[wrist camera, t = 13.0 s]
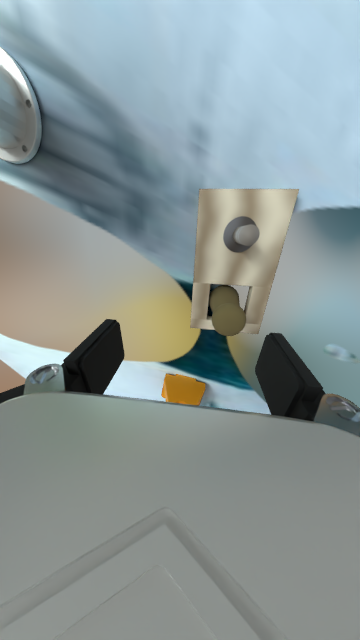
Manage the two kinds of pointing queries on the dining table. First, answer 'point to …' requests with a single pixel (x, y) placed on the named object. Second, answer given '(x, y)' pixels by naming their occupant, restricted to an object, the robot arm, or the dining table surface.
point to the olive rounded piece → (226, 311)
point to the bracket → (182, 389)
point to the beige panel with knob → (239, 247)
